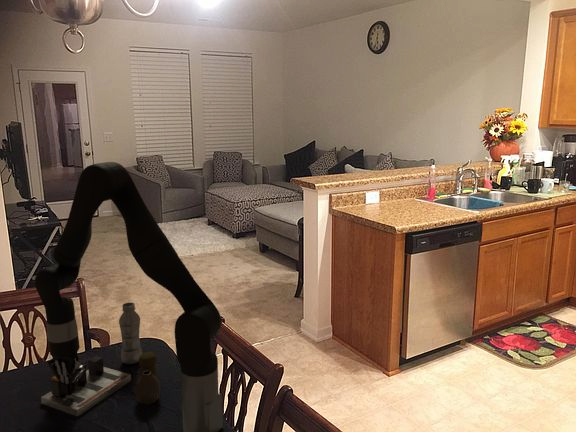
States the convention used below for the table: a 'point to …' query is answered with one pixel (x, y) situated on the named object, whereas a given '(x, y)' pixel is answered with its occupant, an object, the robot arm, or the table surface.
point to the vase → (147, 388)
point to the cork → (148, 363)
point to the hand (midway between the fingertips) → (69, 393)
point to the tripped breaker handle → (57, 386)
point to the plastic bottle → (130, 334)
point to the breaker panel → (89, 388)
